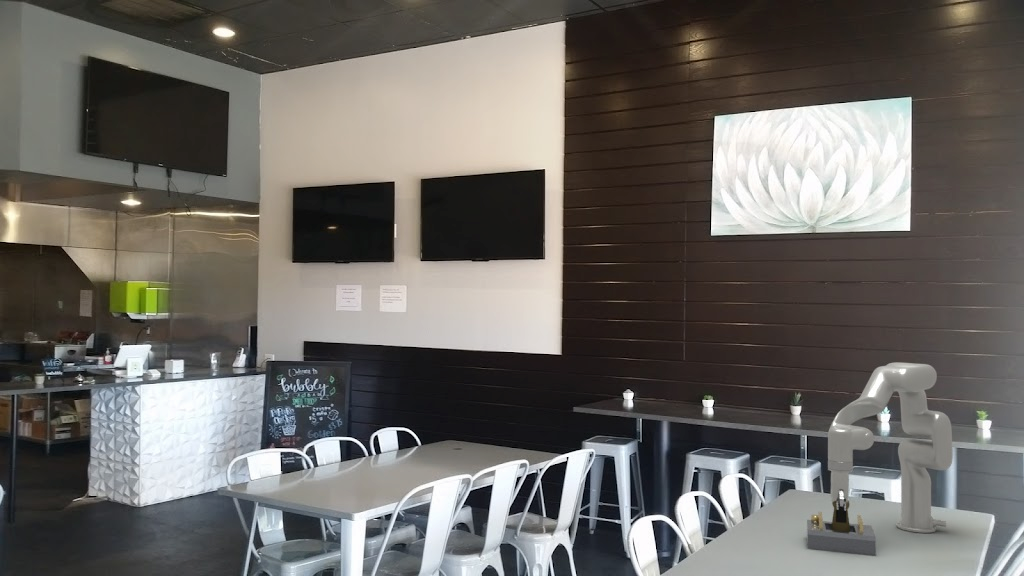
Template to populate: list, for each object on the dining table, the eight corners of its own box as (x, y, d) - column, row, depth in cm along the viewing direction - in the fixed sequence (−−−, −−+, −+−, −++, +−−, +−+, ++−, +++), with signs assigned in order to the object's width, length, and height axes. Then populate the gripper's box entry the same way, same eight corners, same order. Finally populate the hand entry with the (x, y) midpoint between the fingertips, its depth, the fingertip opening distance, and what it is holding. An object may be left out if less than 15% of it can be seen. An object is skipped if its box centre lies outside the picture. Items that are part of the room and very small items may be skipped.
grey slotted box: (871, 544, 265) (871, 514, 265) (875, 555, 252) (875, 525, 252) (806, 537, 271) (807, 509, 272) (807, 548, 258) (807, 518, 258)
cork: (848, 530, 264) (848, 496, 264) (852, 535, 258) (852, 500, 259) (829, 529, 265) (829, 495, 266) (832, 533, 259) (832, 499, 260)
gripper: (826, 460, 272) (826, 511, 271) (829, 469, 255) (829, 524, 255) (850, 462, 269) (850, 513, 269) (854, 471, 253) (854, 526, 252)
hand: (840, 518), depth 262 cm, fingers open, 9 cm apart
